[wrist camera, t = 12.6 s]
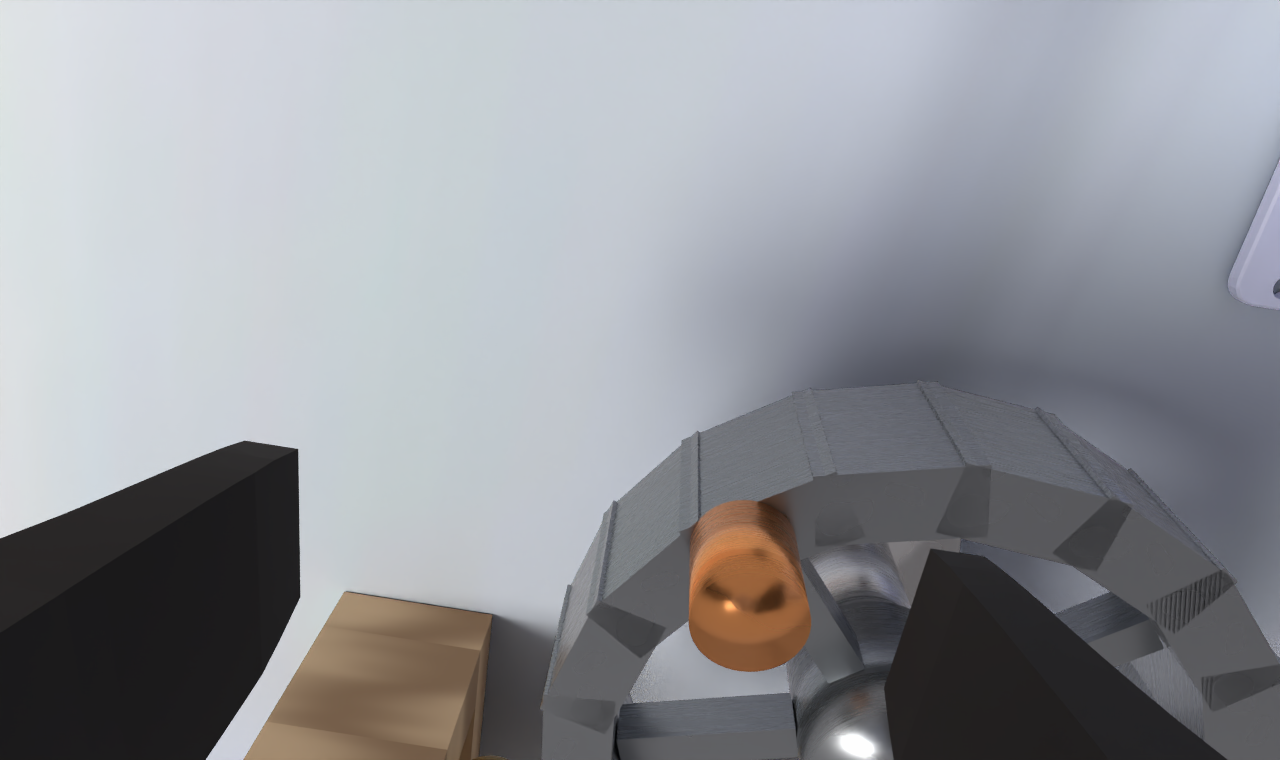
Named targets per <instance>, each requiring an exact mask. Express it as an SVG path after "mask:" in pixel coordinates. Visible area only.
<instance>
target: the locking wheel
mask: <svg viewBox="0 0 1280 760" xmlns="http://www.w3.org/2000/svg"><path fill="white" fill-rule="evenodd" d="M959 538H961V539H965V540H969V541H973V542H977V543H981V544H985V545H989V546H993V547H997V548H1001V549H1005V550H1010V551H1014V552H1018V553H1022V554H1026V555H1030V556H1034V557H1038V558H1042V559H1046V560H1050V561H1054V562H1058V563H1062V564H1066V565H1071V566H1073V567H1074V568H1076V569H1077V570H1079V571H1080V572H1082V573H1083V574H1085V575H1086V576H1088V577H1089V578H1091V579H1093V580H1094V581H1096V582H1097V583H1099V584H1100V585H1102V586H1103V587H1105V588H1106V589H1108V590H1109V591H1111V592H1109V593H1107V594H1104V595H1102V596H1099V597H1097V598H1094V599H1092V600H1089V601H1087V602H1084V603H1082V604H1079V605H1076V606H1074V607H1071V608H1069V609H1066V610H1064V611H1061V612H1059V613H1056V614H1054V615H1055V616H1056V617H1058V618H1059V619H1060V620H1061V621H1062V622H1063V623H1064V624H1066V625H1067V626H1068V627H1069V628H1070V629H1071V630H1072V631H1074V632H1075V633H1076V634H1077V635H1078V636H1079V637H1080V638H1082V639H1083V640H1084V641H1085V642H1086V643H1087V644H1088V645H1089V646H1091V647H1092V648H1093V649H1094V650H1095V651H1096V652H1097V653H1099V654H1100V655H1101V656H1102V657H1103V658H1104V659H1106V660H1107V661H1108V662H1109V663H1110V664H1111V665H1113V666H1114V667H1117V666H1119V669H1118V671H1119V672H1121V673H1122V674H1123V675H1124V676H1125V677H1126V678H1128V679H1129V680H1130V681H1131V682H1132V683H1134V684H1135V685H1136V686H1137V687H1138V688H1139V689H1141V690H1142V691H1143V692H1144V693H1145V694H1147V695H1148V696H1149V697H1150V698H1151V699H1153V700H1154V701H1155V702H1156V703H1157V704H1159V705H1160V706H1161V707H1162V708H1163V709H1165V710H1166V711H1167V712H1168V713H1170V714H1171V715H1172V716H1173V717H1174V718H1176V719H1177V720H1178V721H1179V722H1181V723H1182V724H1183V725H1184V726H1186V727H1187V728H1188V729H1189V730H1191V731H1192V732H1193V733H1195V734H1196V735H1197V736H1198V737H1200V738H1201V739H1202V740H1203V741H1205V742H1206V743H1207V744H1208V745H1210V746H1211V747H1212V748H1214V749H1215V750H1216V751H1217V752H1219V753H1220V754H1221V755H1222V756H1224V757H1225V758H1226V759H1227V760H1280V658H1279V657H1278V656H1277V655H1276V654H1275V653H1274V652H1273V650H1272V649H1271V648H1270V646H1269V644H1268V642H1267V641H1266V639H1265V637H1264V635H1263V634H1262V632H1261V630H1260V628H1259V627H1258V625H1257V623H1256V621H1255V620H1254V618H1253V616H1252V614H1251V613H1250V611H1249V609H1248V607H1247V606H1246V604H1245V602H1244V600H1243V599H1242V597H1241V595H1240V593H1239V592H1238V590H1237V588H1236V586H1235V585H1234V584H1236V583H1237V582H1238V581H1237V580H1236V579H1235V578H1234V577H1233V576H1232V575H1231V574H1230V573H1229V572H1228V571H1227V570H1226V569H1225V567H1224V566H1223V565H1222V564H1221V563H1220V562H1219V561H1218V560H1217V559H1216V558H1215V557H1214V556H1213V555H1212V554H1211V553H1210V552H1209V551H1208V549H1207V548H1206V547H1205V546H1204V545H1203V544H1202V543H1201V542H1200V541H1199V540H1198V539H1197V538H1196V537H1195V536H1194V535H1193V534H1192V532H1191V531H1190V530H1189V529H1188V528H1187V527H1186V526H1185V525H1184V524H1183V523H1182V522H1181V521H1180V520H1179V519H1178V518H1177V517H1176V516H1175V514H1174V513H1173V512H1172V511H1171V510H1170V509H1169V508H1168V507H1167V506H1166V505H1165V504H1164V503H1163V502H1162V501H1161V500H1160V499H1159V498H1158V496H1157V495H1156V494H1155V493H1154V492H1153V491H1152V490H1151V489H1150V488H1149V487H1148V486H1147V485H1146V484H1145V483H1144V482H1143V481H1142V480H1141V478H1140V477H1139V476H1138V475H1137V474H1136V473H1135V472H1134V471H1133V470H1132V469H1129V470H1127V469H1126V468H1124V467H1123V466H1121V465H1120V464H1118V463H1117V462H1116V461H1114V460H1113V459H1111V458H1110V457H1108V456H1107V455H1106V454H1104V453H1103V452H1101V451H1100V450H1098V449H1097V448H1096V447H1094V446H1093V445H1091V444H1090V443H1088V442H1087V441H1086V440H1084V439H1083V438H1081V437H1080V436H1078V435H1077V434H1076V433H1074V432H1073V431H1071V430H1070V429H1068V428H1067V427H1066V426H1064V425H1063V424H1062V423H1061V421H1060V420H1059V419H1058V418H1057V417H1056V416H1055V415H1054V414H1050V413H1046V412H1044V411H1043V410H1041V409H1040V408H1039V407H1037V408H1036V409H1031V408H1027V407H1023V406H1019V405H1015V404H1011V403H1007V402H1003V401H999V400H995V399H991V398H987V397H983V396H979V395H975V394H971V393H968V392H964V391H960V390H956V389H952V388H948V387H944V386H940V384H939V383H938V381H937V382H924V381H920V380H917V382H916V383H910V384H896V385H883V386H869V387H856V388H842V389H828V390H815V391H812V389H811V388H809V389H807V390H804V391H801V392H792V396H790V397H787V398H785V399H782V400H780V401H777V402H775V403H772V404H770V405H767V406H765V407H763V408H760V409H758V410H755V411H753V412H750V413H748V414H745V415H743V416H740V417H738V418H736V419H733V420H731V421H728V422H726V423H723V424H721V425H718V426H716V427H713V428H711V429H709V430H706V431H704V432H701V433H700V432H698V431H697V432H696V433H695V434H693V435H692V436H691V437H689V438H686V439H684V440H682V445H681V446H680V447H679V448H678V449H676V450H675V451H674V452H673V453H672V454H671V455H670V456H669V457H667V458H666V459H665V460H664V461H663V462H662V463H661V464H659V465H658V466H657V467H656V468H655V469H654V470H653V471H652V472H650V473H649V474H648V475H647V476H646V477H645V478H644V479H642V480H641V481H640V482H639V483H638V484H637V485H636V486H635V487H633V488H632V489H631V490H630V491H629V492H628V493H627V494H625V495H624V496H623V497H622V498H621V499H620V500H619V501H617V502H616V501H613V502H612V504H611V506H610V508H609V509H608V510H607V511H606V512H605V513H604V516H603V521H602V524H601V526H600V528H599V530H598V532H597V534H596V536H595V538H594V540H593V542H592V544H591V546H590V548H589V550H588V552H587V554H586V556H585V558H584V560H583V562H582V564H581V566H580V568H579V570H578V572H577V574H576V576H575V578H574V580H573V582H572V584H571V585H568V586H567V591H566V595H565V598H564V602H563V607H562V611H561V616H560V620H559V625H558V629H557V634H556V638H555V643H554V647H553V652H552V656H551V661H550V665H549V670H548V674H547V679H546V683H545V688H544V692H543V697H542V701H541V706H540V710H542V711H543V729H542V760H764V759H781V758H798V755H799V760H894V759H893V752H892V746H891V739H890V733H889V725H888V717H887V709H886V701H885V693H884V686H885V683H886V680H887V677H888V674H889V671H890V668H891V665H892V662H893V659H894V656H895V653H896V650H897V647H898V644H899V641H900V638H901V635H902V632H903V629H904V626H905V623H906V620H907V617H908V614H909V611H910V609H909V608H907V607H904V606H901V605H898V604H893V603H888V602H878V601H865V602H856V603H851V604H846V605H842V606H838V604H837V603H836V601H835V600H834V598H833V596H832V595H831V593H830V592H829V590H828V588H827V587H826V585H825V584H824V582H823V580H822V579H821V577H820V576H819V574H818V572H817V571H816V569H815V567H814V566H813V564H812V563H811V561H810V559H809V558H808V557H810V556H813V555H816V554H818V553H821V552H824V551H827V550H830V549H832V548H835V547H838V546H841V545H853V544H870V543H888V542H906V541H923V540H941V539H959ZM687 621H689V629H690V634H691V637H692V639H693V641H694V643H695V645H696V646H697V648H698V649H699V650H700V651H701V652H702V653H703V654H704V655H705V656H706V657H707V658H708V659H710V660H711V661H713V662H715V663H716V664H718V665H720V666H723V667H725V668H729V669H732V670H737V671H746V672H755V671H763V670H768V669H772V668H774V667H777V666H780V665H782V664H784V663H786V662H787V675H788V682H789V690H790V693H781V694H766V695H751V696H737V697H722V698H707V699H692V700H678V701H663V702H648V703H633V701H632V698H631V696H630V693H629V692H630V690H631V689H632V687H633V685H634V683H635V682H636V680H637V678H638V676H639V675H640V673H641V671H642V669H643V668H644V666H645V664H646V662H647V661H648V659H649V657H650V656H651V654H652V652H653V650H654V649H655V647H656V646H657V645H658V644H659V643H661V642H662V641H663V640H664V639H666V638H667V637H668V636H669V635H671V634H672V633H673V632H675V631H676V630H677V629H678V628H680V627H681V626H682V625H683V624H685V623H686V622H687ZM797 748H798V749H797Z"/></svg>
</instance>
